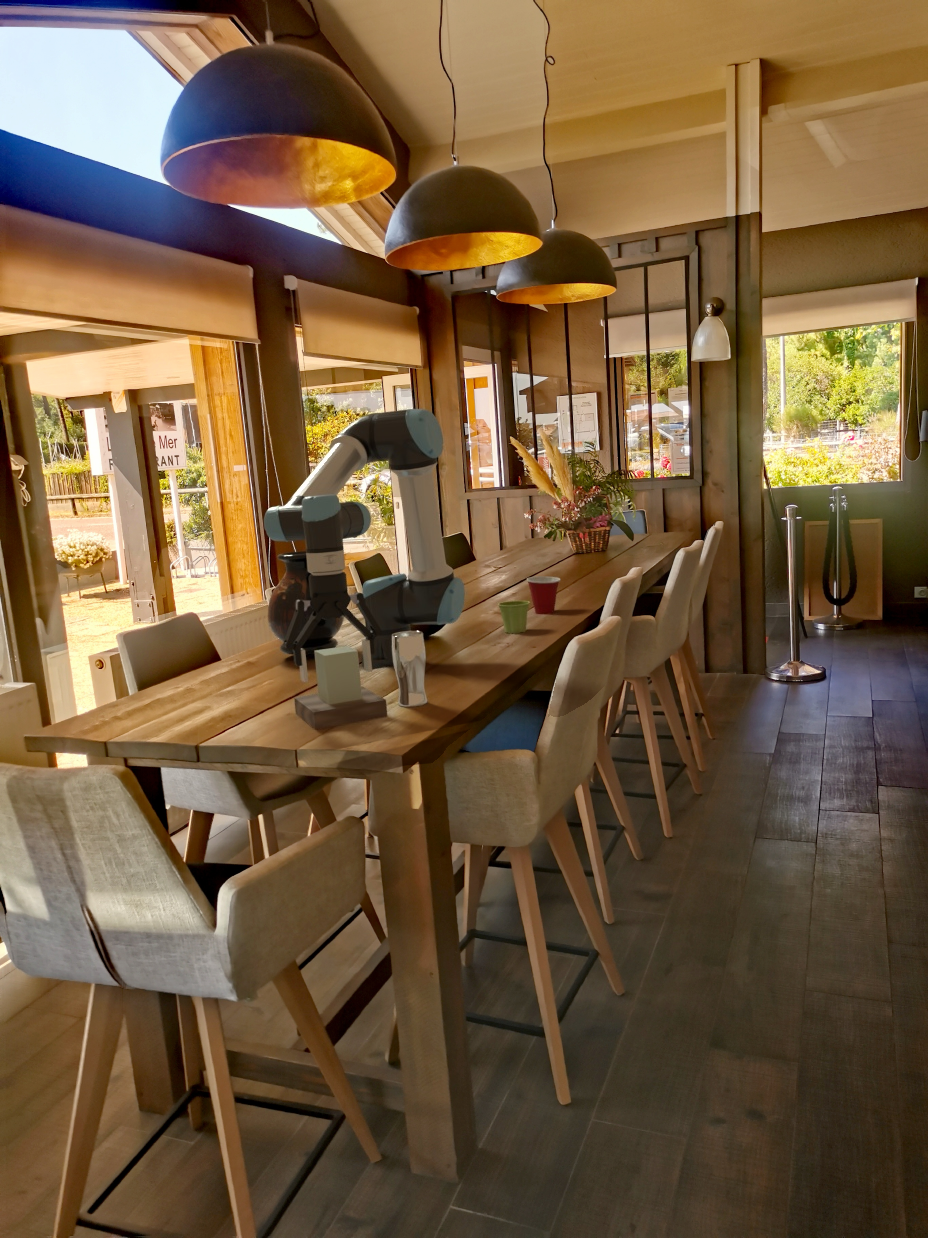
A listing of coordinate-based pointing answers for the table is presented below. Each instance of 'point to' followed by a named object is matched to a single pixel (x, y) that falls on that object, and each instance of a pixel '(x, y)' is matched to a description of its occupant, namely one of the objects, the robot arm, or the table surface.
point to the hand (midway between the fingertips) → (336, 676)
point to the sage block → (338, 674)
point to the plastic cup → (543, 593)
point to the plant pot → (514, 615)
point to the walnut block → (340, 710)
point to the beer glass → (409, 667)
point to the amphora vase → (284, 606)
